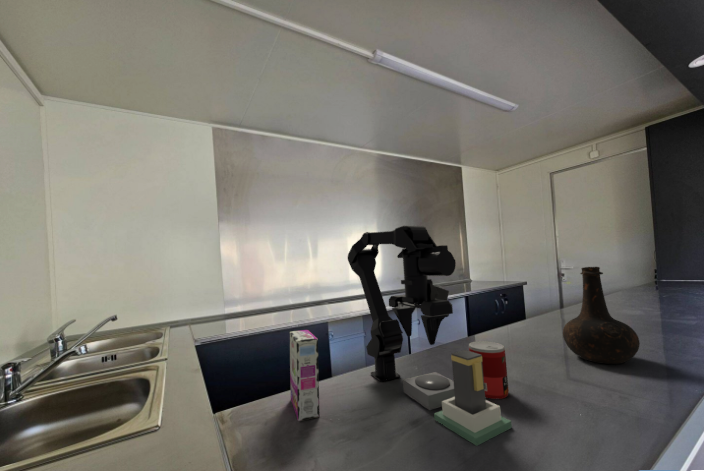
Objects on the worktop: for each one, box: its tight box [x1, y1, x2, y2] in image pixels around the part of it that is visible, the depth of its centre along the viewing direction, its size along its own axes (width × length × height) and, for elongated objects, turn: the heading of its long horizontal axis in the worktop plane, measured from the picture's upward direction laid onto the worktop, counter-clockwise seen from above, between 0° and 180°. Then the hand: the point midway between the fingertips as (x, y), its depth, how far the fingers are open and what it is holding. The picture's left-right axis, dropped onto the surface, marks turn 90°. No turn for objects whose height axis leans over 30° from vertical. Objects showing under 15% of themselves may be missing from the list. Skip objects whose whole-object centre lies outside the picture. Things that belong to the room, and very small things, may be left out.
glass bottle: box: [562, 266, 640, 365], centre depth 88 cm, size 18×18×28 cm
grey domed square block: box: [402, 371, 455, 411], centre depth 69 cm, size 10×10×3 cm
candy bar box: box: [289, 329, 321, 422], centre depth 66 cm, size 11×5×16 cm, turn 21°
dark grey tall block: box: [450, 349, 487, 415], centre depth 57 cm, size 5×4×12 cm
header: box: [433, 397, 513, 447], centre depth 57 cm, size 10×10×4 cm
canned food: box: [468, 340, 509, 400], centre depth 70 cm, size 8×8×11 cm
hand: (420, 340), depth 70 cm, fingers open, 9 cm apart
